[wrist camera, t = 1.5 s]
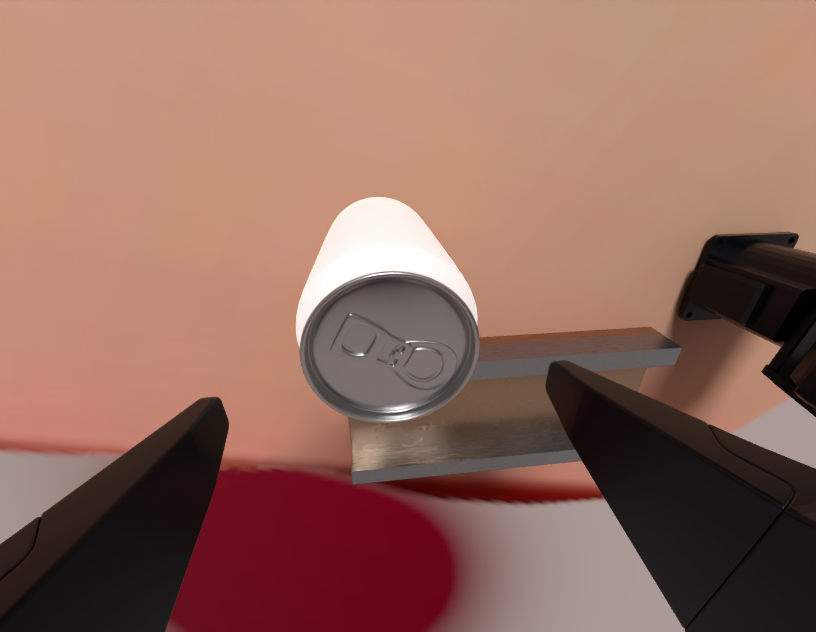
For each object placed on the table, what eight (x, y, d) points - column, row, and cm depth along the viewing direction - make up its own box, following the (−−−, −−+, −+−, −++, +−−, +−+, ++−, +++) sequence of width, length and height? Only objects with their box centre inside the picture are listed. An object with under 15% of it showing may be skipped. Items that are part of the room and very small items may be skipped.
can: (400, 310, 23) (428, 452, 13) (310, 271, 21) (254, 399, 11) (448, 227, 21) (534, 314, 10) (353, 173, 19) (336, 213, 8)
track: (650, 327, 26) (682, 347, 24) (611, 429, 31) (634, 455, 29) (341, 346, 24) (338, 371, 21) (354, 453, 29) (352, 484, 26)
